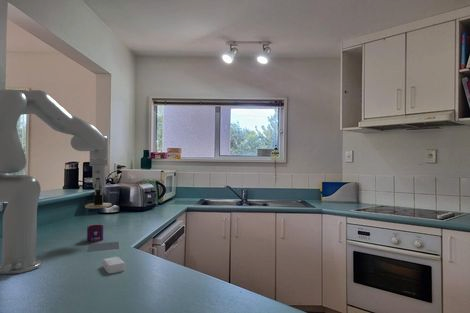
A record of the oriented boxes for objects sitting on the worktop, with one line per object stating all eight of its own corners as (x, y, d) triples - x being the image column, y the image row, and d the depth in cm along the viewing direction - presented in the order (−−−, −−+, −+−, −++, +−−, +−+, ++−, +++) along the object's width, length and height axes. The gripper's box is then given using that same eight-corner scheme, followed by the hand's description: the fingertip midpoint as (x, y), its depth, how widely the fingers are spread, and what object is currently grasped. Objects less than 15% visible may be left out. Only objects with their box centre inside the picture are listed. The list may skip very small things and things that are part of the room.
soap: (125, 271, 104) (125, 262, 104) (108, 274, 101) (108, 265, 101) (118, 264, 112) (118, 255, 112) (101, 267, 108) (101, 258, 109)
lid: (111, 207, 138) (111, 194, 138) (83, 208, 134) (83, 195, 134) (111, 204, 148) (112, 191, 148) (86, 205, 144) (86, 192, 144)
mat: (119, 249, 129) (119, 248, 129) (87, 252, 125) (87, 251, 125) (118, 242, 140) (118, 241, 140) (89, 244, 136) (89, 244, 136)
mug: (87, 243, 138) (87, 228, 138) (86, 238, 147) (86, 224, 147) (103, 242, 141) (103, 226, 141) (101, 237, 150) (102, 223, 150)
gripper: (106, 162, 134) (106, 205, 134) (108, 162, 150) (108, 200, 150) (87, 163, 132) (87, 206, 132) (91, 162, 147) (91, 201, 147)
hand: (98, 202), depth 141 cm, fingers closed on lid, 3 cm apart
